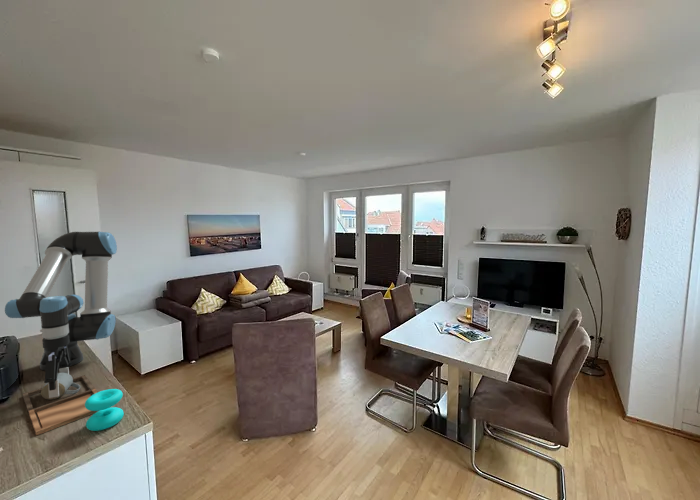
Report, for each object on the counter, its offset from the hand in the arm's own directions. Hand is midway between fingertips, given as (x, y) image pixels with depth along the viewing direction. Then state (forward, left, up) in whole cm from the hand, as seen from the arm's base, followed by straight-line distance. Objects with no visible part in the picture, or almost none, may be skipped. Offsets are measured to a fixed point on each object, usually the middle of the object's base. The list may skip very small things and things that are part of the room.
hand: (59, 389), depth 118 cm
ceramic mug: (0, +1, -2) cm, 2 cm away
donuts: (+30, +20, -2) cm, 36 cm away
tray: (+8, +3, -2) cm, 9 cm away
